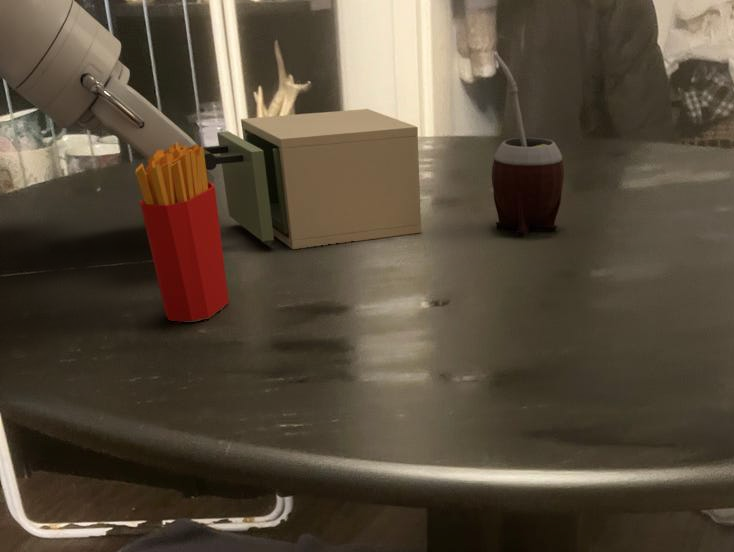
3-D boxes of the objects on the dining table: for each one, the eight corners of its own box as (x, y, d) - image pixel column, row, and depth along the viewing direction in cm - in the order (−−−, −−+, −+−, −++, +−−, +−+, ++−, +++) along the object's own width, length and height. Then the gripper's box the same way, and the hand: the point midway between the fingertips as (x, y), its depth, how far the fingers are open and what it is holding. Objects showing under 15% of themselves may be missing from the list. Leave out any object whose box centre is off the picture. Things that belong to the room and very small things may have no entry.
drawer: (221, 247, 91) (207, 155, 86) (191, 220, 99) (177, 135, 95) (383, 226, 97) (378, 139, 92) (342, 203, 105) (336, 122, 101)
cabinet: (292, 249, 94) (280, 138, 88) (254, 221, 103) (240, 118, 97) (421, 232, 99) (417, 126, 93) (373, 206, 108) (367, 108, 102)
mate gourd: (553, 239, 96) (560, 64, 87) (476, 235, 98) (475, 62, 89) (567, 221, 102) (575, 55, 93) (493, 217, 104) (494, 53, 95)
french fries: (195, 293, 82) (169, 136, 75) (240, 296, 82) (217, 137, 75) (150, 326, 76) (116, 156, 69) (198, 329, 75) (168, 159, 68)
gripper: (118, 50, 75) (258, 175, 85) (75, 29, 90) (199, 138, 99) (72, 119, 76) (216, 235, 86) (37, 88, 91) (163, 190, 100)
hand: (206, 183), depth 93 cm, fingers closed
